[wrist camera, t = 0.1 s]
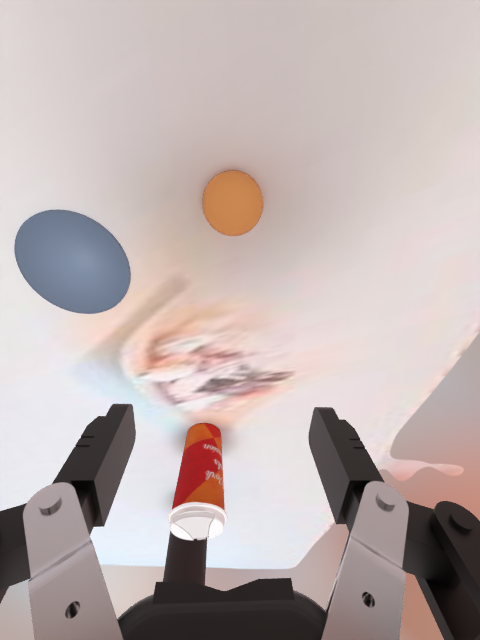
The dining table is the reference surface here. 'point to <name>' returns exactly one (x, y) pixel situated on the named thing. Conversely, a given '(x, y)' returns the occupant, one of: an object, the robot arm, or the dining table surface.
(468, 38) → the dining table surface
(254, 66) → the dining table surface
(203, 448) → the paper cup
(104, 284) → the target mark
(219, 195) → the ball
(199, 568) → the bottle
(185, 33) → the dining table surface
